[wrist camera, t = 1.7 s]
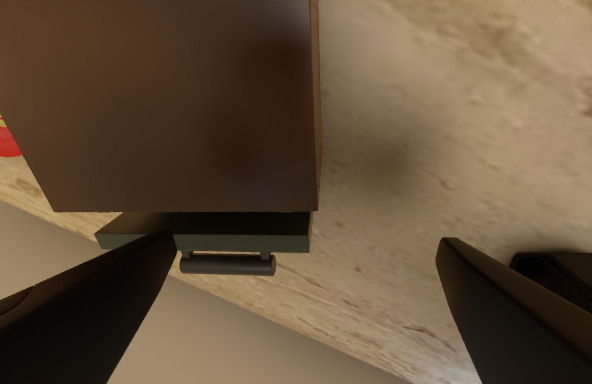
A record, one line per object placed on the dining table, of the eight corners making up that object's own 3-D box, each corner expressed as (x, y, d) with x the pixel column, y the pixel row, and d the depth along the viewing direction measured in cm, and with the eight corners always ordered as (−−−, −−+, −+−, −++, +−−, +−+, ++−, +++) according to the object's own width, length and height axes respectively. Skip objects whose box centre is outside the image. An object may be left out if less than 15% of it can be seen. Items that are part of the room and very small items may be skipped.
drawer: (316, 241, 22) (312, 308, 16) (177, 240, 24) (126, 299, 18) (300, -150, 12) (273, -362, 6) (63, -106, 14) (-142, -237, 8)
